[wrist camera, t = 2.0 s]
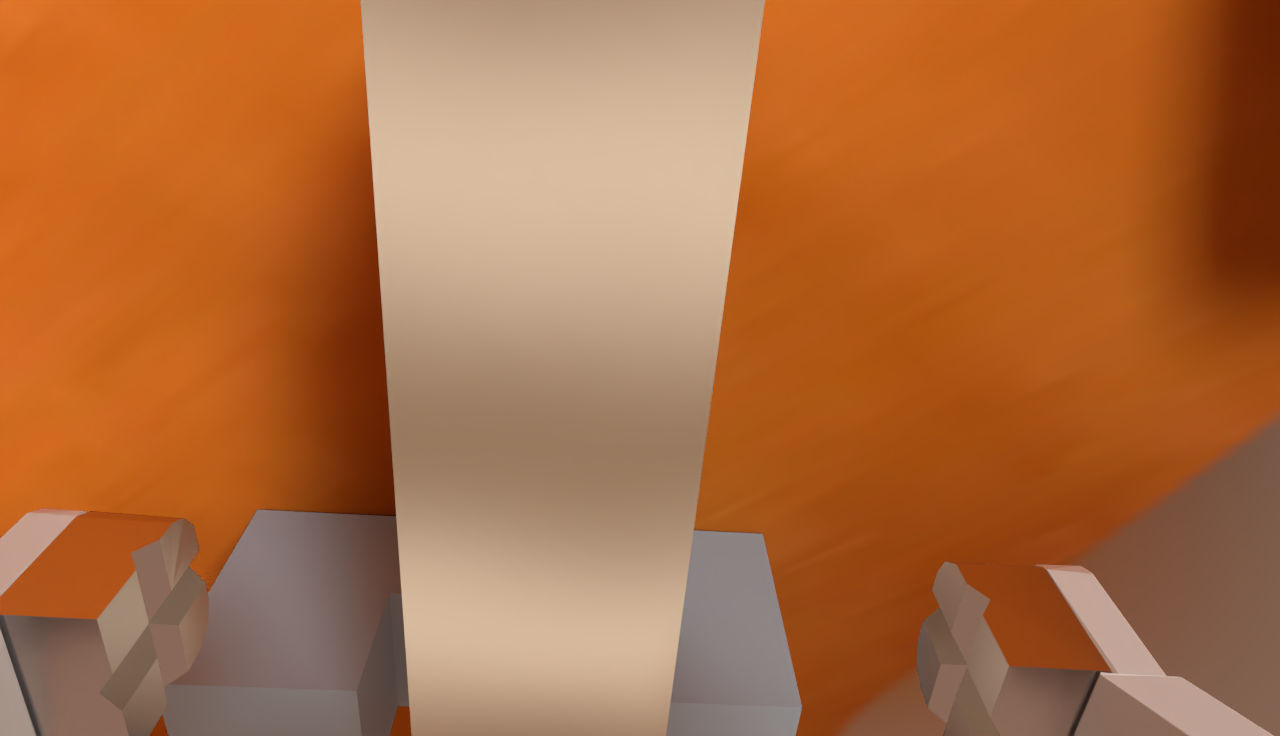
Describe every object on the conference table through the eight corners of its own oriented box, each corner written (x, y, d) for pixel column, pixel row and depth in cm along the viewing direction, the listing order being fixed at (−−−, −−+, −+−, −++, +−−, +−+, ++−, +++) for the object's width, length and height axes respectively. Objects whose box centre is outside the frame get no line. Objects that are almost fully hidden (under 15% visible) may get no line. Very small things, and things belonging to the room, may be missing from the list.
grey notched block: (275, 618, 26) (186, 803, 20) (257, 509, 24) (154, 683, 19) (743, 637, 26) (774, 820, 21) (762, 533, 25) (802, 707, 19)
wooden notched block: (646, 427, 23) (662, 758, 14) (492, 419, 23) (412, 750, 14) (694, -86, 17) (773, -71, 8) (490, -104, 17) (353, -107, 8)
